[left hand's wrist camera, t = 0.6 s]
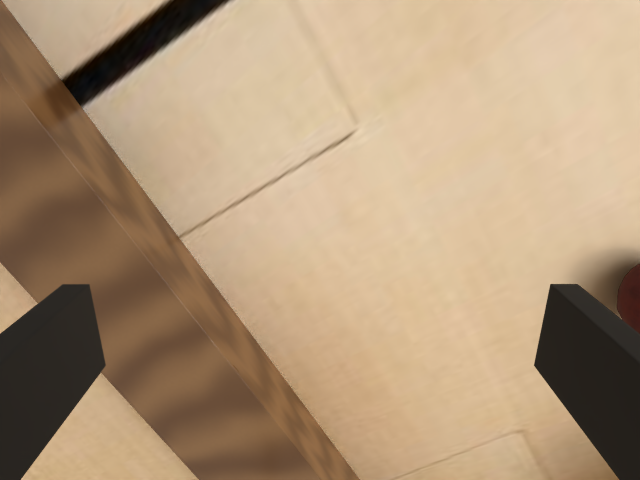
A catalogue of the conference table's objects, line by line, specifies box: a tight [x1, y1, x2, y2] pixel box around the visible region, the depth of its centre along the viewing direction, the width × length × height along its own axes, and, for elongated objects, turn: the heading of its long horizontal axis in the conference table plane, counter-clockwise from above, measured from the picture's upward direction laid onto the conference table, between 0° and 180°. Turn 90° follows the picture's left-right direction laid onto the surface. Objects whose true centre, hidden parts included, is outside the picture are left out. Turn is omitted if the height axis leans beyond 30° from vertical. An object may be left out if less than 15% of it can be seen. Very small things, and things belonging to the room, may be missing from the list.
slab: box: [0, 0, 359, 480], centre depth 38 cm, size 79×10×6 cm, turn 31°
